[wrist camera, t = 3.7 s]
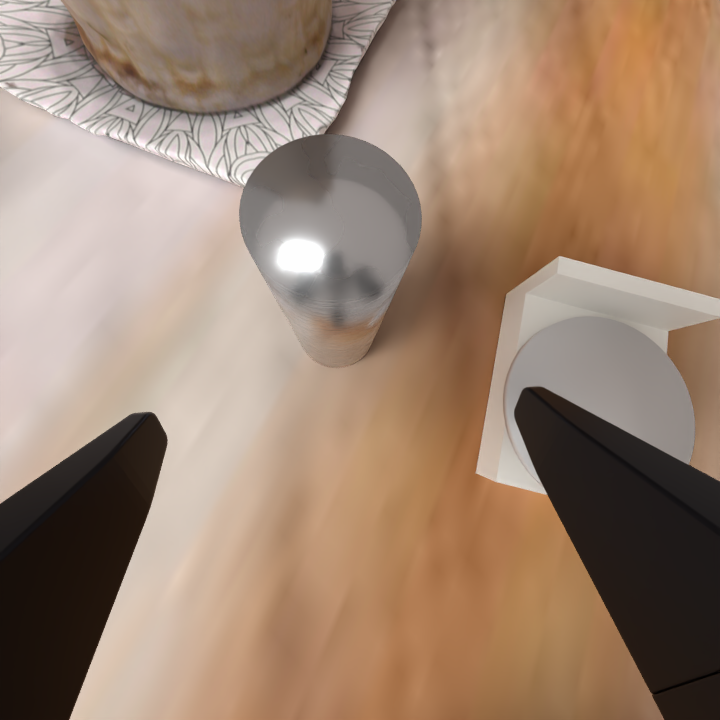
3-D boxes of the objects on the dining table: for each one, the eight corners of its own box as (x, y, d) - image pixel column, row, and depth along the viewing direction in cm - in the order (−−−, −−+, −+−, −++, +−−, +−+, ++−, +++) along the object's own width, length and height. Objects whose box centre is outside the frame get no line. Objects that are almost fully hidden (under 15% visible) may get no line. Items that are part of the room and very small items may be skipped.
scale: (625, 514, 19) (729, 550, 14) (464, 473, 19) (510, 495, 14) (641, 324, 22) (735, 297, 16) (497, 286, 21) (547, 246, 16)
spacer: (363, 375, 20) (400, 319, 8) (289, 357, 20) (213, 271, 8) (381, 305, 21) (437, 160, 9) (310, 287, 20) (269, 114, 9)
